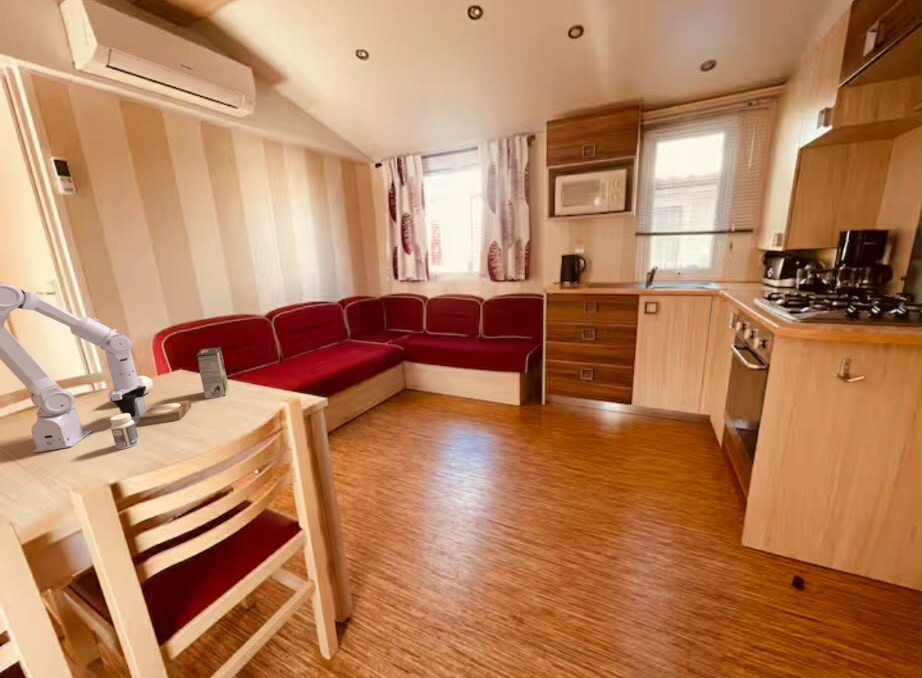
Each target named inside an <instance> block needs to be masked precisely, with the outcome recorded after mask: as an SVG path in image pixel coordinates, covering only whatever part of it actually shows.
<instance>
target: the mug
mask: <svg viewBox="0 0 922 678" xmlns="http://www.w3.org/2000/svg"><path fill="white" fill-rule="evenodd" d="M137 376H138V378H142V381H143V383H144V386H146V390H145V392H144V395H145V394H146V395H147V394H148V393H150V392H151V391H152V390H153V389H154V381H153V380H152V378H150V377H148V376H146V375H137ZM113 390H114V388H112V389H111V390H110V391H109V393H108V399H109V401H110V402H111V398H112V397H111V394H112V393H113ZM111 404H113V405H115V404H114V403H113V402H111Z"/></svg>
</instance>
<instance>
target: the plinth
mask: <svg viewBox="0 0 922 678" xmlns="http://www.w3.org/2000/svg"><path fill="white" fill-rule="evenodd" d="M190 409H192V404H191V400H190V399H189V400H182V401H180V400H179V401H173V402H167V403H160V404H153V405H151V407H149V408H148V409H146V410H147V411H146V412H145V413H144V414H143V415H142V416H141V417H140V418H139V420H138V421H139V423H140V426H146V425H147V426H149V425H154V424H160V423H168V422H174V421H181V420H182V419H183V417H185V415H186V414H187V413H188V412H189V411H190Z"/></svg>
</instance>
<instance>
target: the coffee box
mask: <svg viewBox="0 0 922 678" xmlns="http://www.w3.org/2000/svg"><path fill="white" fill-rule="evenodd" d="M196 359H197V365H198V369H199V375H200V380H201V384H202V385H201V386H202V388H203V395H204V399H205V400H207V399H206V398H209V399H213V398H212V397H215V398H218V397H217V396H221V397H223V396H222V395H225V394H226V395H227V393H228V391H229V382H228V378H227V373H226V368H225V362H224V357H223V353H222V348H221V346H219V347H209V348H208V347H207V348H202V349H200V350H199V351H198V353H197V354H196ZM226 392H227V393H226Z"/></svg>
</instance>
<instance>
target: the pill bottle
mask: <svg viewBox="0 0 922 678" xmlns="http://www.w3.org/2000/svg"><path fill="white" fill-rule="evenodd" d="M110 423H111V425H110V431H111V434H112V438H113V441H114V444H115V447H116V449H118V450H125V449H126V450H127V449H129V448H132V447H135V446H137V445H138V444H139V443H140V438H139V434H138V430H137V426H136V423H135V421H133V420H131V415H130V414H129V413H124V414H121V413H120V414H119V413H118V414H117V415H114V416H112V417H111V418H110Z"/></svg>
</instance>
